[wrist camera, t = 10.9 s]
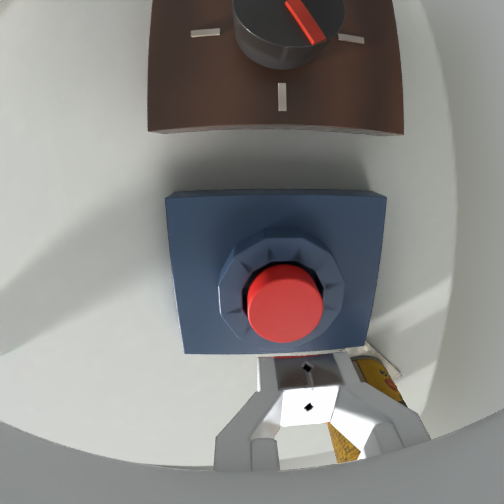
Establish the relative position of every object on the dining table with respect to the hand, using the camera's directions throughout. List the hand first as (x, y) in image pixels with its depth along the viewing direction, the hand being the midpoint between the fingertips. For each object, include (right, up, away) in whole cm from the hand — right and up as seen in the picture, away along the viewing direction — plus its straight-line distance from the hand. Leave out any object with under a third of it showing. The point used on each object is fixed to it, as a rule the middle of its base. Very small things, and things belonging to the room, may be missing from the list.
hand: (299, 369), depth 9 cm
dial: (0, +15, +2) cm, 15 cm away
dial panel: (0, +16, +5) cm, 16 cm away
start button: (0, +2, +6) cm, 6 cm away
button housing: (0, +3, +9) cm, 10 cm away
